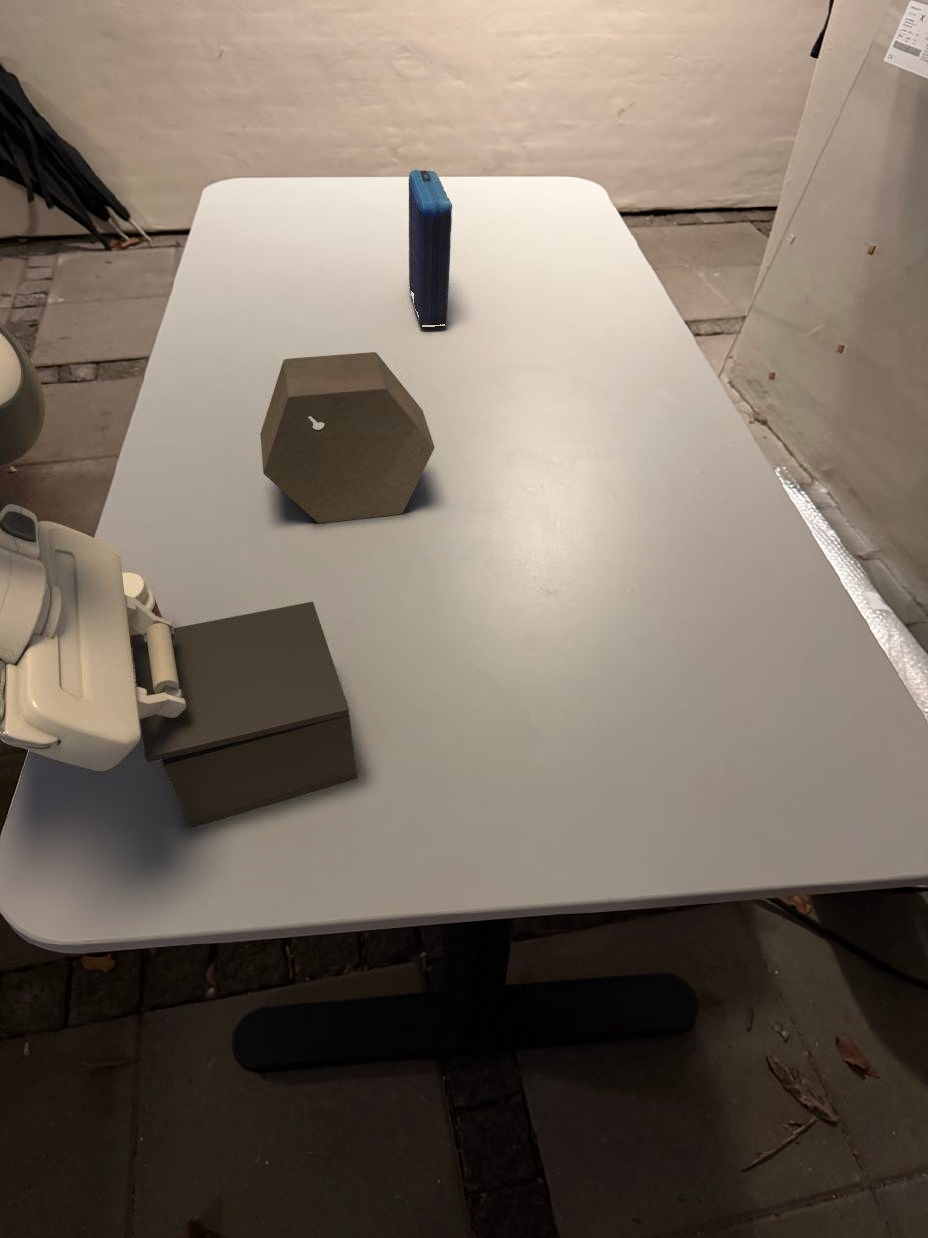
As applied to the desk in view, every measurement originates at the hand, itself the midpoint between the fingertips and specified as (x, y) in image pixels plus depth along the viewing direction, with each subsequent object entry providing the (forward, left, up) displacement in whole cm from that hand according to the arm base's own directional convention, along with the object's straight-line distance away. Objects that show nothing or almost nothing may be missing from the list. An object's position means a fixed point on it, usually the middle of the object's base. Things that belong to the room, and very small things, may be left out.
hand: (175, 668), depth 61 cm
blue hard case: (+47, +76, -13) cm, 90 cm away
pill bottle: (-4, +16, -13) cm, 21 cm away
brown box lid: (+4, 0, -3) cm, 5 cm away
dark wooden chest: (+5, 0, -13) cm, 14 cm away
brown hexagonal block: (+22, +32, -13) cm, 41 cm away
